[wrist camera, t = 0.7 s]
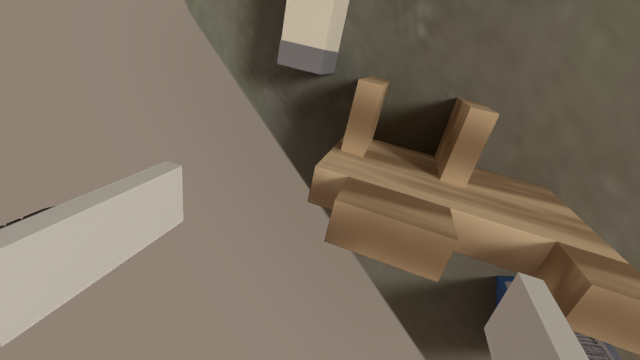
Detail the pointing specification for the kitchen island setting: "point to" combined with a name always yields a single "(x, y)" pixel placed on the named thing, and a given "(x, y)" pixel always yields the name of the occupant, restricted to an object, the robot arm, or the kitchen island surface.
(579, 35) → the kitchen island surface
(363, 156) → the wooden post cradle
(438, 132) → the kitchen island surface
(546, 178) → the kitchen island surface
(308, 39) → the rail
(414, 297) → the kitchen island surface
